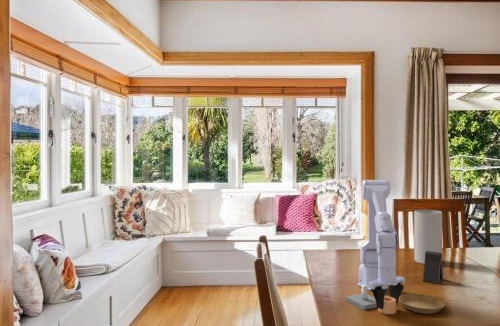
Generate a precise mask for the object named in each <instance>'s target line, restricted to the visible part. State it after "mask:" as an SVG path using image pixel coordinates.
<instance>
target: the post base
mask: <svg viewBox="0 0 500 326" xmlns="http://www.w3.org/2000/svg"><path fill="white" fill-rule="evenodd" d="M345 302H347V303H349V304H351V305H353V306H355V307H356V308H359V309H360V310H363V311H367V310H371V309H376V308H377V304H376V300H375V297H374V295H373V296H372V295H370V294H368V289H367V286H366V285H363V286H362V287H361V293H357V294H353V295H348V296H347V295H346V296H345Z"/></svg>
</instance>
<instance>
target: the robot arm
mask: <svg viewBox="0 0 500 326" xmlns="http://www.w3.org/2000/svg"><path fill="white" fill-rule="evenodd" d="M390 193H391V182H390V181H389V180H388V179H363V180H362V182H361V197H362V199H363V200H365V201H366V203H367V240H365V241H364V242H363V243H361V245H360V250H359V258H360V259H359V260H360V263H361V264H360V265H359V267H358V283H357V284H356V285H357V286H359V287H361V288H362V286H363V285H366V286H367V291H368V290H369V291H371V292H372V295H373V297H375V300H376V304H377V307H376V308H377V309H378V308H379V309H383V307H384V296H386V292H387V289H389V297H392V298H395V299H396V307H397V306H398V302H399V301H400V300H399V297H400V296H401V294H402V293H403V291H404V289H405V285H403V284H405V283H406V278H405V277H403V276H397V253H396V252H397V251H396V250H397V249H398V246H399V237H398V233H397V231H396V228H394V225H393V219H392V216H391V215H390V213H388V210H387V199H388V198H389V196H390Z"/></svg>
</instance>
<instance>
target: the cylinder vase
mask: <svg viewBox="0 0 500 326" xmlns="http://www.w3.org/2000/svg"><path fill="white" fill-rule="evenodd" d="M413 212H414V213H413V214H414V215H413V216H414V217H413V223H414V224H413V232H414V233H413V234H414V236H413V239H414V240H413V241H414V243H413V244H414V245H413V247H414V249H413V250H414V251H413V253H414V258H413V259H414V262H416V263H418V264H422V265H424V264H425V252H426V251H431V252H439V253H442V254H443V212H442V211H440V210H435V209H433V210H432V209H417V210H414V211H413Z"/></svg>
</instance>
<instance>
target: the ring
mask: <svg viewBox="0 0 500 326" xmlns="http://www.w3.org/2000/svg"><path fill="white" fill-rule="evenodd" d="M377 310H378V312H379V313H382V314H385V315H395V314H396V313H397V306H396V299H395V298H392V297H390V296H387V295H385V296H384V307H383V309H379V308H377Z"/></svg>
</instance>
